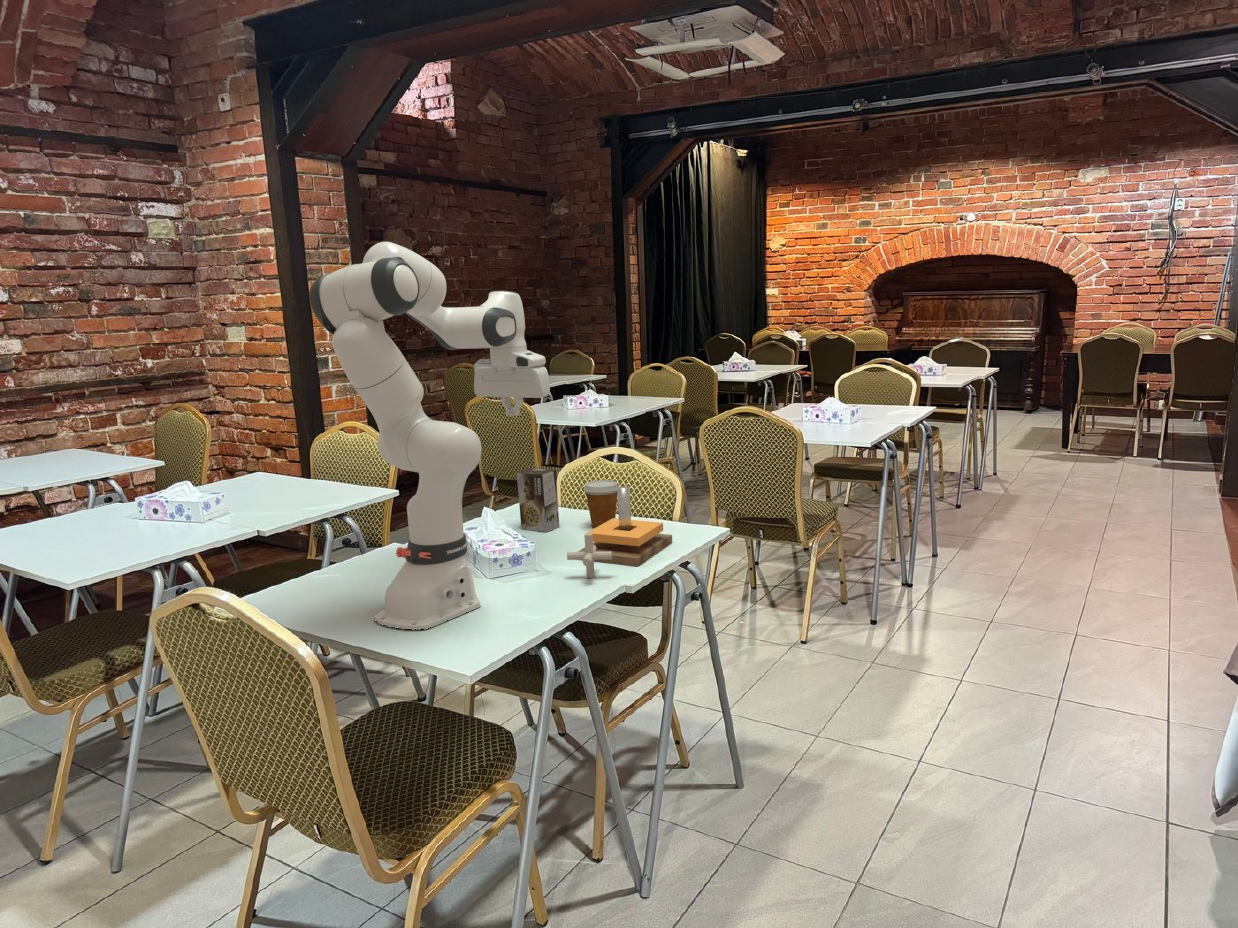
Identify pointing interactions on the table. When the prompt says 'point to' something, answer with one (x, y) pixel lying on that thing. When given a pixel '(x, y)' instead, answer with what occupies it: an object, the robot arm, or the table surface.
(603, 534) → the orange collar
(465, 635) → the table surface
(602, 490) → the disposable coffee cup
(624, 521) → the metal pipe
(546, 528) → the grey-brown upright rectangular box
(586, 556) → the pipe connector
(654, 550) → the walnut base board
